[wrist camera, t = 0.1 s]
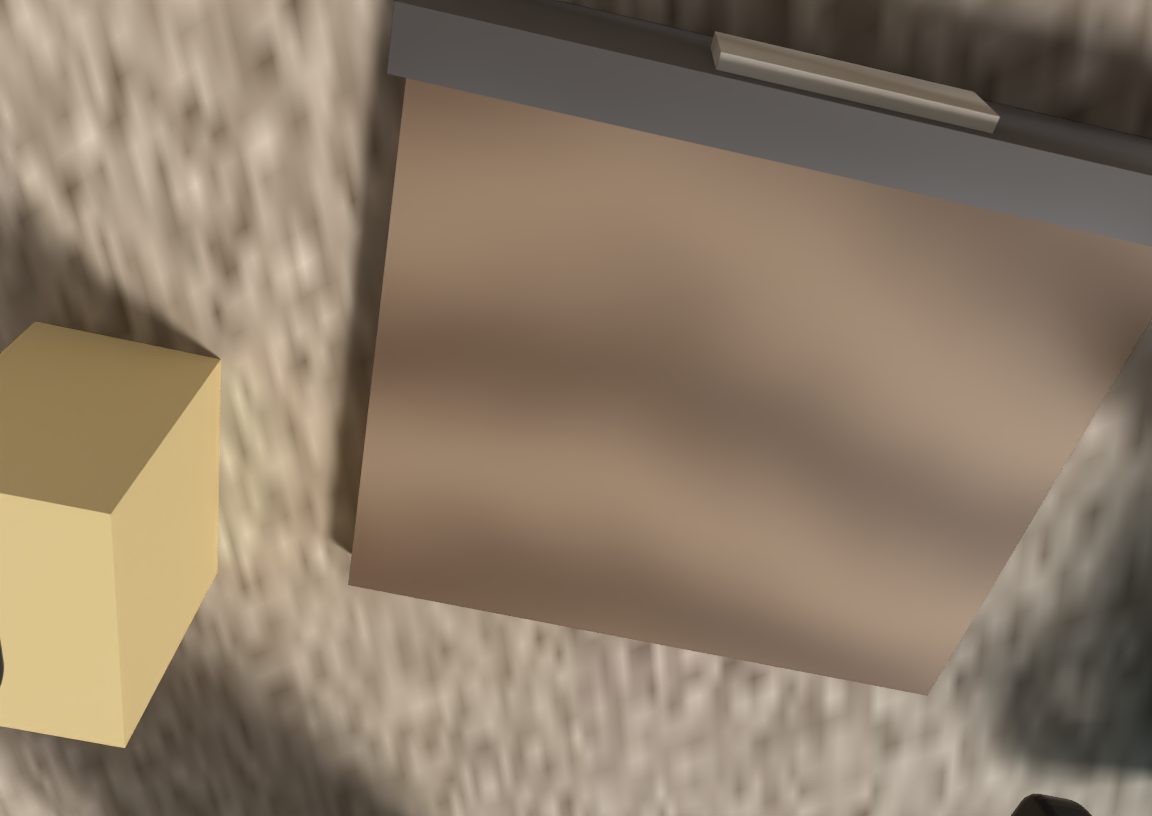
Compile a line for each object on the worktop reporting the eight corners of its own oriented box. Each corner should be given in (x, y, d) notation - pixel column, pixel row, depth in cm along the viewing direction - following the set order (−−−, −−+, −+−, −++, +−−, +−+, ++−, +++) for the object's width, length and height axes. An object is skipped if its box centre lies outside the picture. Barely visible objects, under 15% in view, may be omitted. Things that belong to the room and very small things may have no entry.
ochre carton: (221, 357, 24) (110, 514, 19) (218, 570, 28) (124, 748, 23) (28, 318, 24) (-138, 466, 19) (51, 538, 27) (-82, 711, 22)
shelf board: (918, 667, 28) (946, 756, 26) (357, 559, 27) (328, 640, 25) (1222, 139, 20) (1307, 193, 17) (429, -47, 19) (396, -18, 16)
